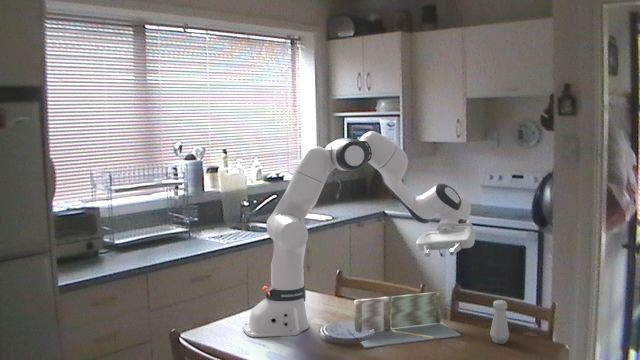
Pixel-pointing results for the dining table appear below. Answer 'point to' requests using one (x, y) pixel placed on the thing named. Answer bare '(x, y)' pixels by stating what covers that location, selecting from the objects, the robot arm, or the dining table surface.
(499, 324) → the salt shaker
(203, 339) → the dining table surface
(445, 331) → the board
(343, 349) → the dining table surface
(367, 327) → the beige patterned panel
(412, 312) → the green fence panel
